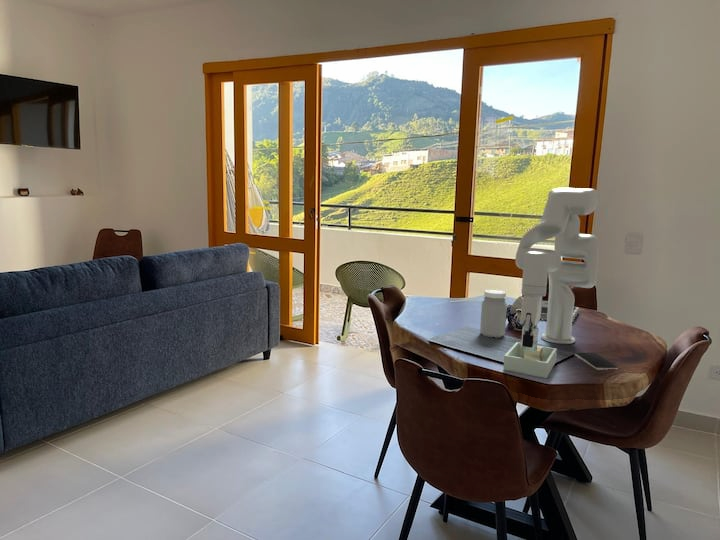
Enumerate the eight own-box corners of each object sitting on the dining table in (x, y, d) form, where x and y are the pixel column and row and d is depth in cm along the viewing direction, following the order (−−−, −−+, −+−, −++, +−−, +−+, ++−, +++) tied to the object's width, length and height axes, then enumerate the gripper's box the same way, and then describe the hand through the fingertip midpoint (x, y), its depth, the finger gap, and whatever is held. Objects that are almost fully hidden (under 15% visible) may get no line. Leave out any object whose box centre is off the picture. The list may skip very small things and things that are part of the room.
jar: (505, 339, 206) (508, 294, 203) (480, 337, 208) (483, 293, 205) (503, 332, 216) (506, 289, 213) (479, 330, 218) (482, 288, 215)
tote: (515, 355, 187) (516, 341, 186) (555, 362, 180) (556, 348, 180) (503, 370, 172) (504, 355, 171) (546, 378, 165) (547, 363, 164)
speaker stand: (529, 307, 262) (529, 301, 262) (578, 313, 251) (578, 307, 251) (518, 316, 242) (519, 310, 242) (571, 324, 231) (572, 317, 231)
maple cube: (526, 358, 183) (528, 344, 182) (541, 361, 180) (542, 347, 179) (523, 362, 178) (524, 348, 178) (538, 365, 176) (539, 351, 175)
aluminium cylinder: (522, 345, 174) (524, 325, 173) (538, 348, 172) (539, 327, 171) (519, 349, 170) (521, 328, 169) (535, 352, 167) (537, 331, 166)
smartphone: (596, 367, 174) (574, 352, 189) (596, 371, 174) (573, 356, 189) (619, 367, 175) (595, 352, 190) (619, 371, 175) (594, 355, 190)
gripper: (527, 284, 177) (523, 336, 180) (515, 292, 162) (511, 349, 165) (550, 287, 173) (545, 340, 176) (540, 295, 158) (536, 353, 161)
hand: (529, 343), depth 170 cm, fingers closed on aluminium cylinder, 5 cm apart
